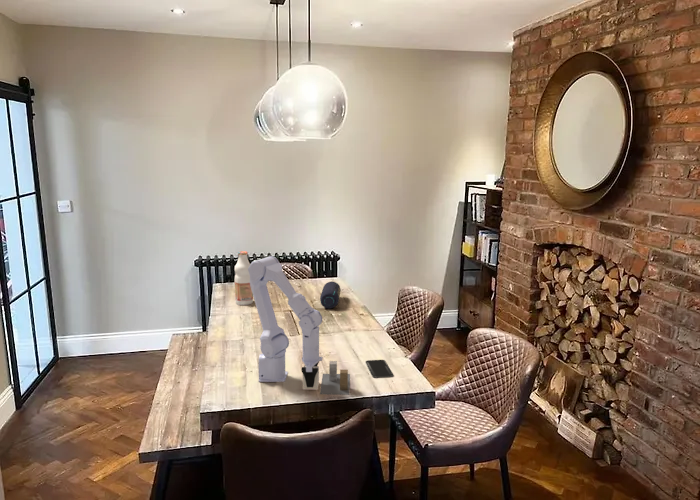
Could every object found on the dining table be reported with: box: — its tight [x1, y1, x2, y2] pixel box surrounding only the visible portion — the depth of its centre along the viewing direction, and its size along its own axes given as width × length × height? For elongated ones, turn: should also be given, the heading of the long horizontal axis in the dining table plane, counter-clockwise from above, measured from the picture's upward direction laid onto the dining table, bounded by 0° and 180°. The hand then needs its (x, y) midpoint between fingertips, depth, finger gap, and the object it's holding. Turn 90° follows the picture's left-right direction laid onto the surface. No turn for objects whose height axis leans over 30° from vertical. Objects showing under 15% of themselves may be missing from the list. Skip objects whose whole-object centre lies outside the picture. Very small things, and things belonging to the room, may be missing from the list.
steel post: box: [328, 360, 338, 381], centre depth 180 cm, size 3×3×6 cm
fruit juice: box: [234, 250, 254, 306], centre depth 268 cm, size 9×9×28 cm
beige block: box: [302, 365, 320, 391], centre depth 175 cm, size 5×5×7 cm
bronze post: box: [339, 369, 349, 390], centre depth 173 cm, size 3×3×6 cm
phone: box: [365, 359, 394, 379], centre depth 190 cm, size 8×1×15 cm
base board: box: [319, 373, 351, 396], centre depth 177 cm, size 10×16×1 cm, turn 179°
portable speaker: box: [319, 281, 341, 309], centre depth 271 cm, size 25×10×10 cm, turn 178°
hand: (310, 382), depth 175 cm, fingers open, 6 cm apart
